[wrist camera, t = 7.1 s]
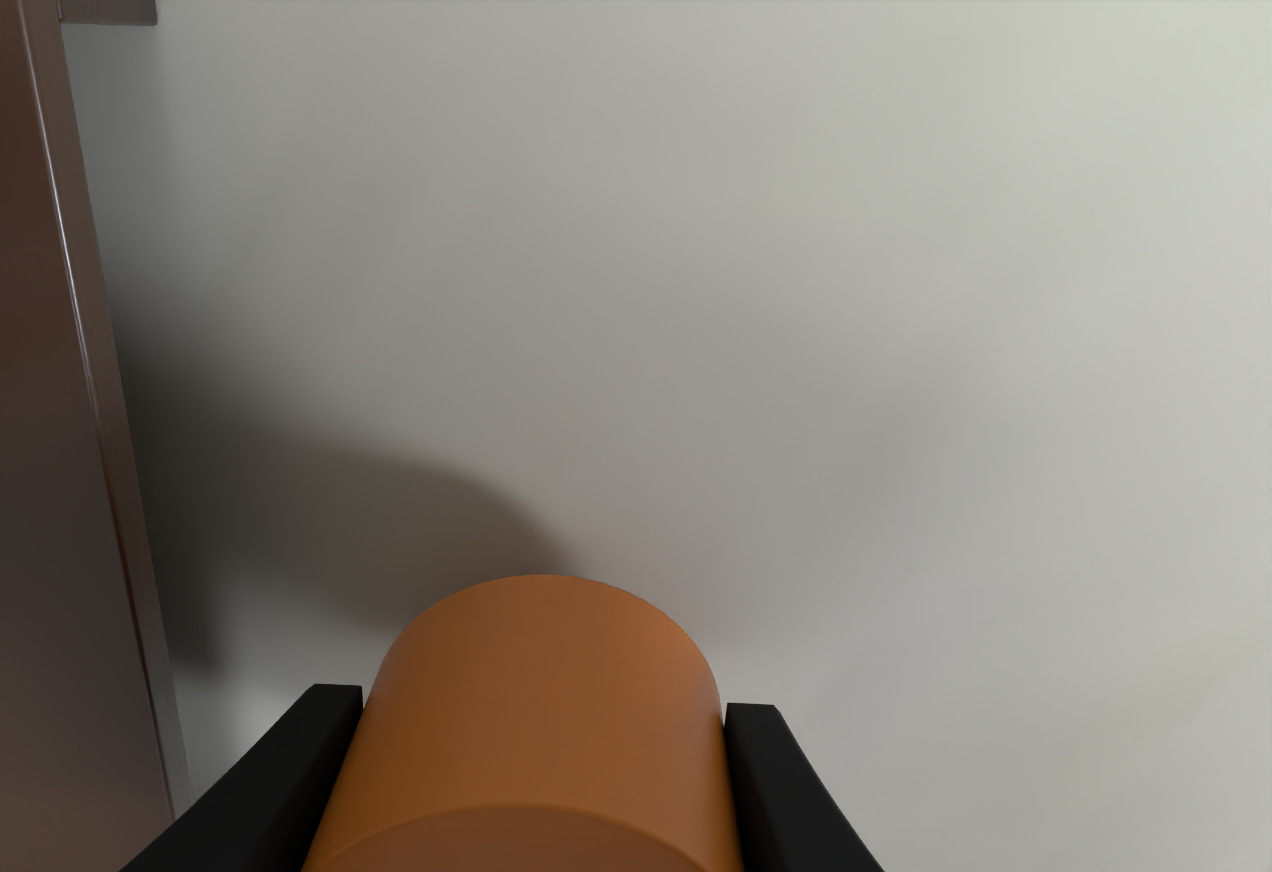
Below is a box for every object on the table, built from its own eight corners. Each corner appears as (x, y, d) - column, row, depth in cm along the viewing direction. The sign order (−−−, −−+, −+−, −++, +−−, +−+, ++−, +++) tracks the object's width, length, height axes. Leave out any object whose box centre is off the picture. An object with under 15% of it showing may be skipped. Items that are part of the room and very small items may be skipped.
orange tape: (739, 582, 12) (790, 817, 8) (702, 852, 13) (730, 1135, 10) (363, 562, 11) (247, 794, 8) (381, 839, 13) (293, 1124, 10)
